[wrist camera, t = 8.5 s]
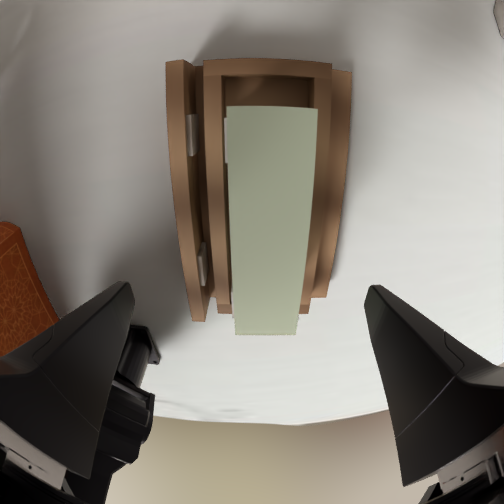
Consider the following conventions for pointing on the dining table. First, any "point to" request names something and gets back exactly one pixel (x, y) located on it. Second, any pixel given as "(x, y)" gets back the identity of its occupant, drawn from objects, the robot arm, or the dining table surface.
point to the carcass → (216, 170)
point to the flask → (500, 15)
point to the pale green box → (269, 213)
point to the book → (20, 293)
